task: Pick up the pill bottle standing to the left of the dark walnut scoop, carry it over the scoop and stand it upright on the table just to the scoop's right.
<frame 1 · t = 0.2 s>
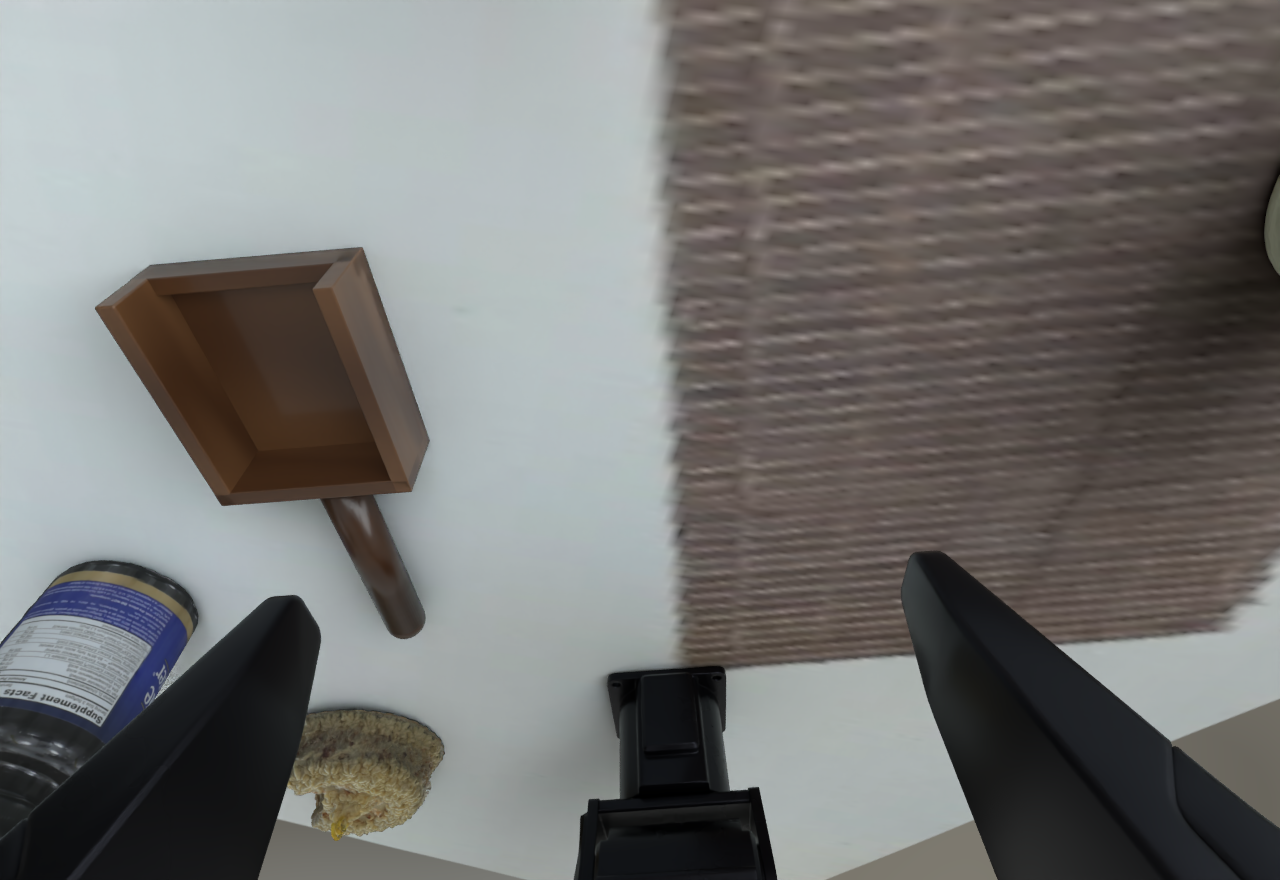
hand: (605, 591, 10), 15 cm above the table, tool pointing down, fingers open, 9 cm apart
pill bottle: (135, 594, 32), on the table
scoop: (342, 447, 26), on the table
cake: (363, 742, 41), on the table
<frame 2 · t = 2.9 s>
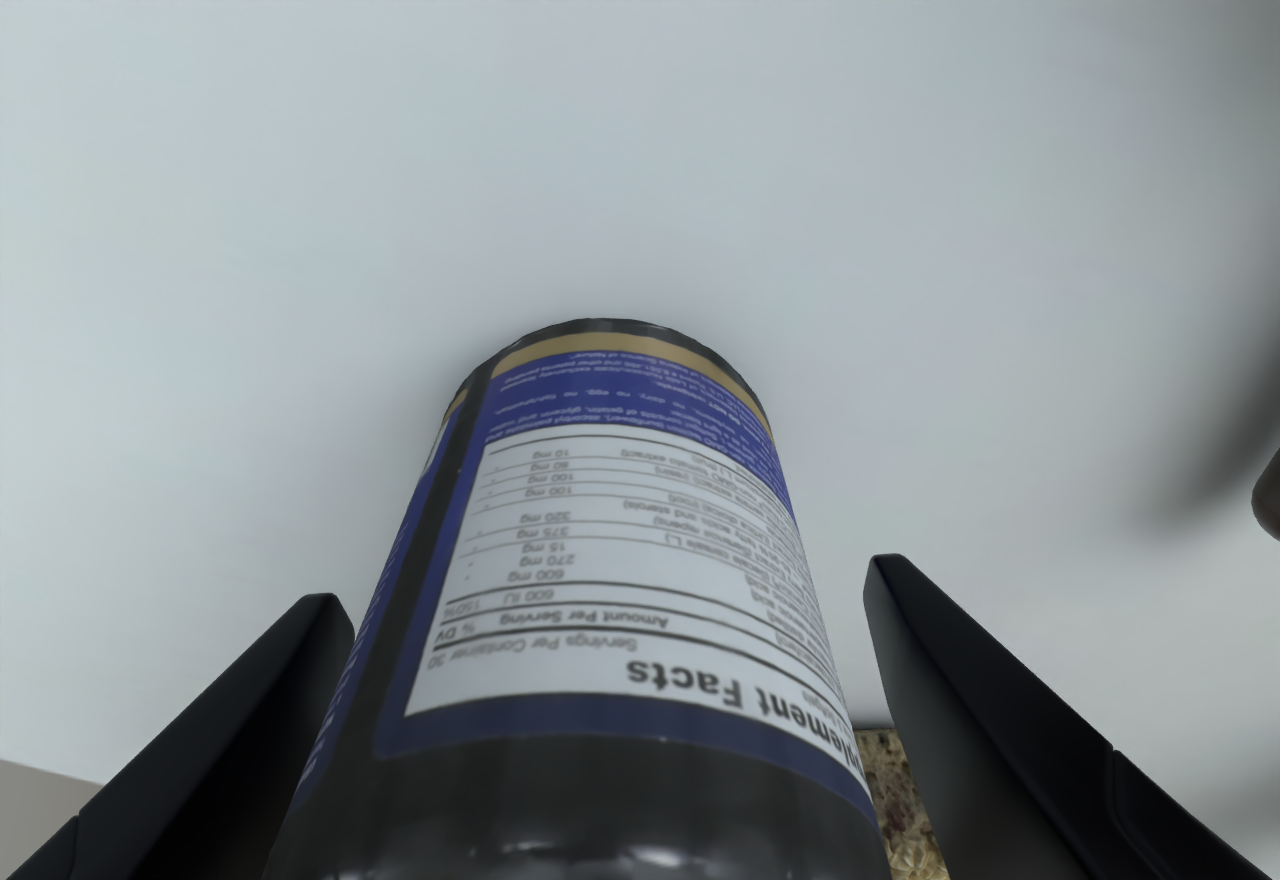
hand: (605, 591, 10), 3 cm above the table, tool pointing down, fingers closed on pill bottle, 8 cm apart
pill bottle: (610, 443, 13), on the table, touching gripper
cake: (836, 787, 22), on the table
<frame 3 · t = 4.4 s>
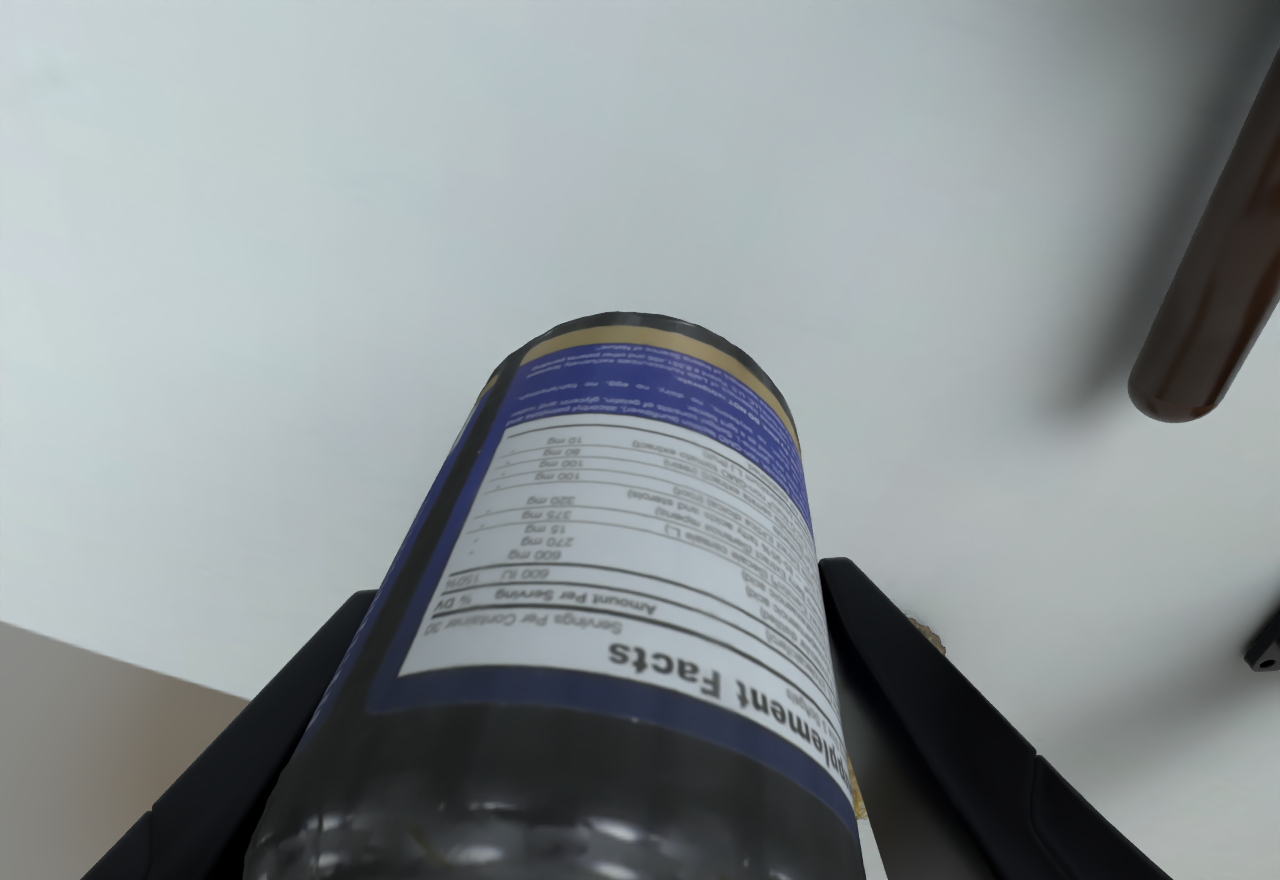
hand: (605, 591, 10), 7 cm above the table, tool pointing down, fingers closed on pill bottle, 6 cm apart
pill bottle: (637, 436, 13), point 3 cm above the table, touching gripper
cake: (807, 678, 25), on the table
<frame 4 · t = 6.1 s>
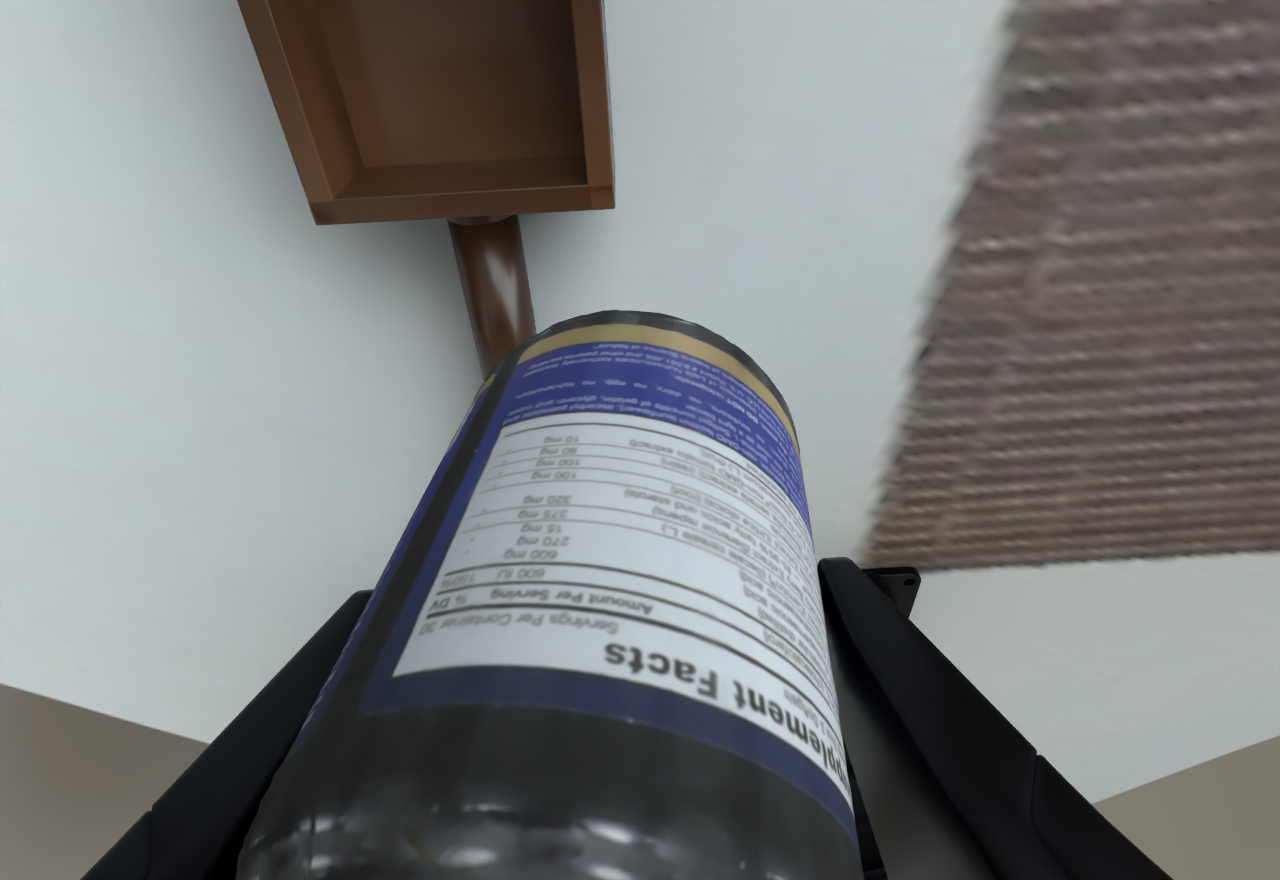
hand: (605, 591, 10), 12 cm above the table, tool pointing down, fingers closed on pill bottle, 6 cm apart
pill bottle: (636, 436, 13), point 8 cm above the table, touching gripper
scoop: (484, 177, 18), on the table
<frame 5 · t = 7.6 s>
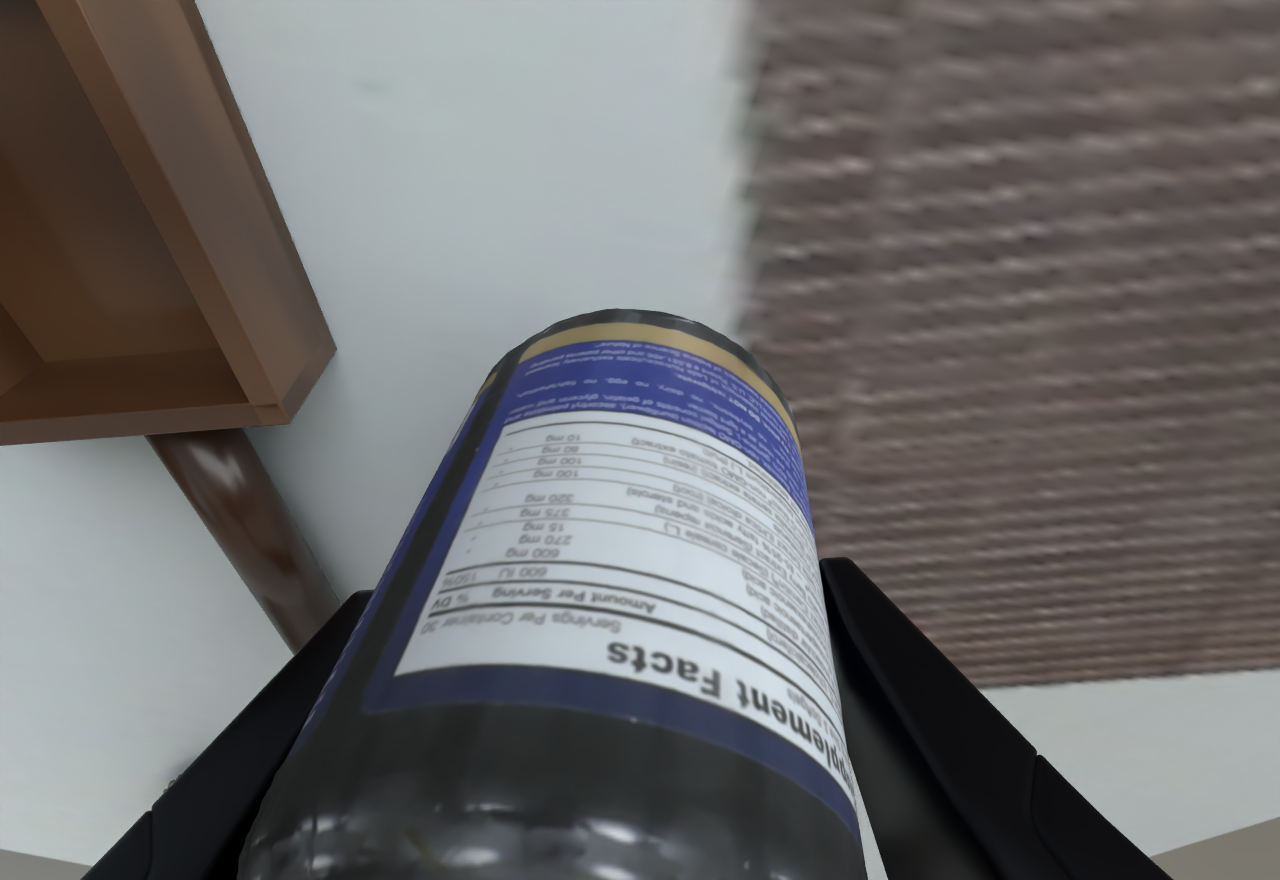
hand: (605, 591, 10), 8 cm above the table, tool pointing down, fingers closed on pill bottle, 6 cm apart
pill bottle: (637, 435, 13), point 4 cm above the table, touching gripper
scoop: (194, 360, 16), on the table
when the fingers open (4 cm above the table, at t = 9.0 s): pill bottle stays where it is, on the table.
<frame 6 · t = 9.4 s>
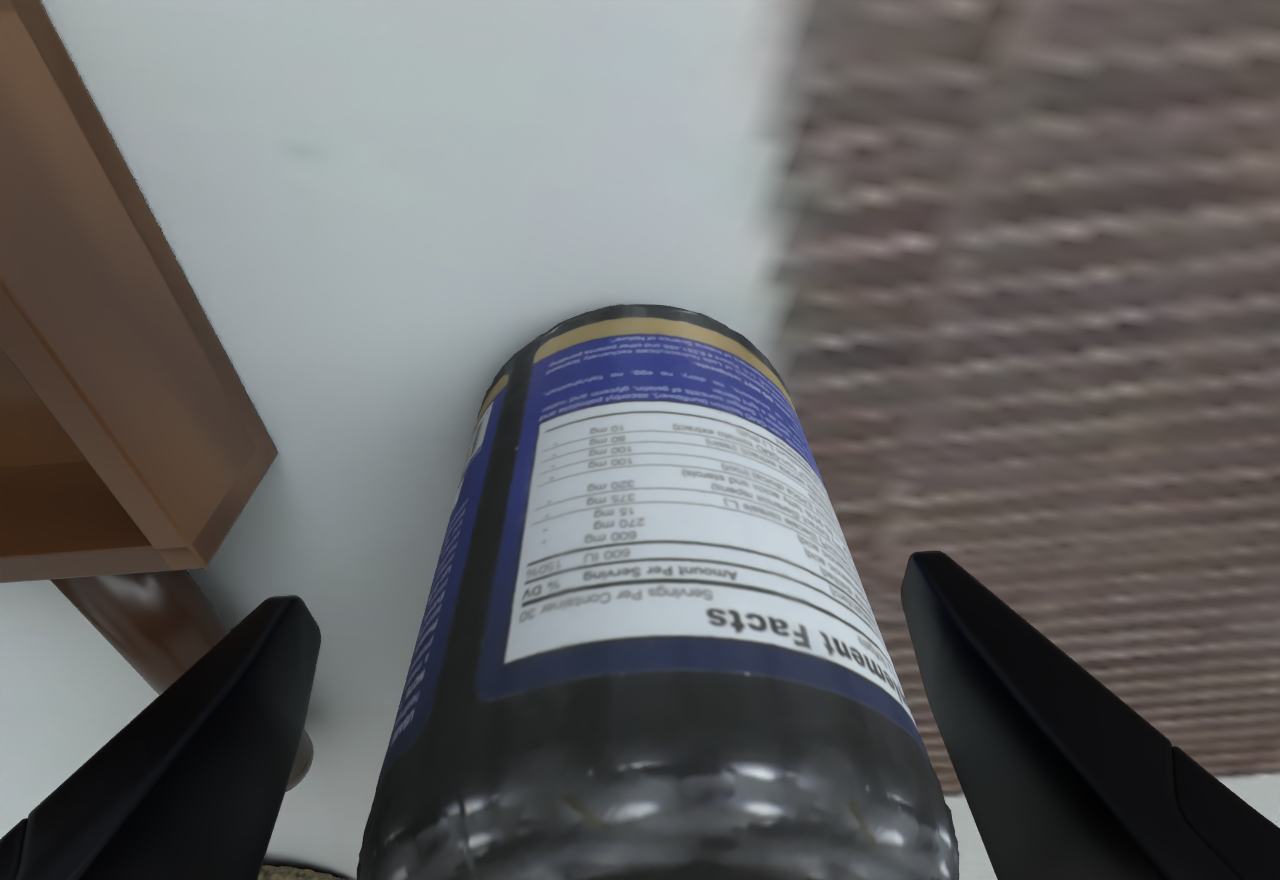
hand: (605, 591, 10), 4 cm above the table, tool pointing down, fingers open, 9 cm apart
pill bottle: (637, 427, 13), on the table
scoop: (106, 466, 13), on the table
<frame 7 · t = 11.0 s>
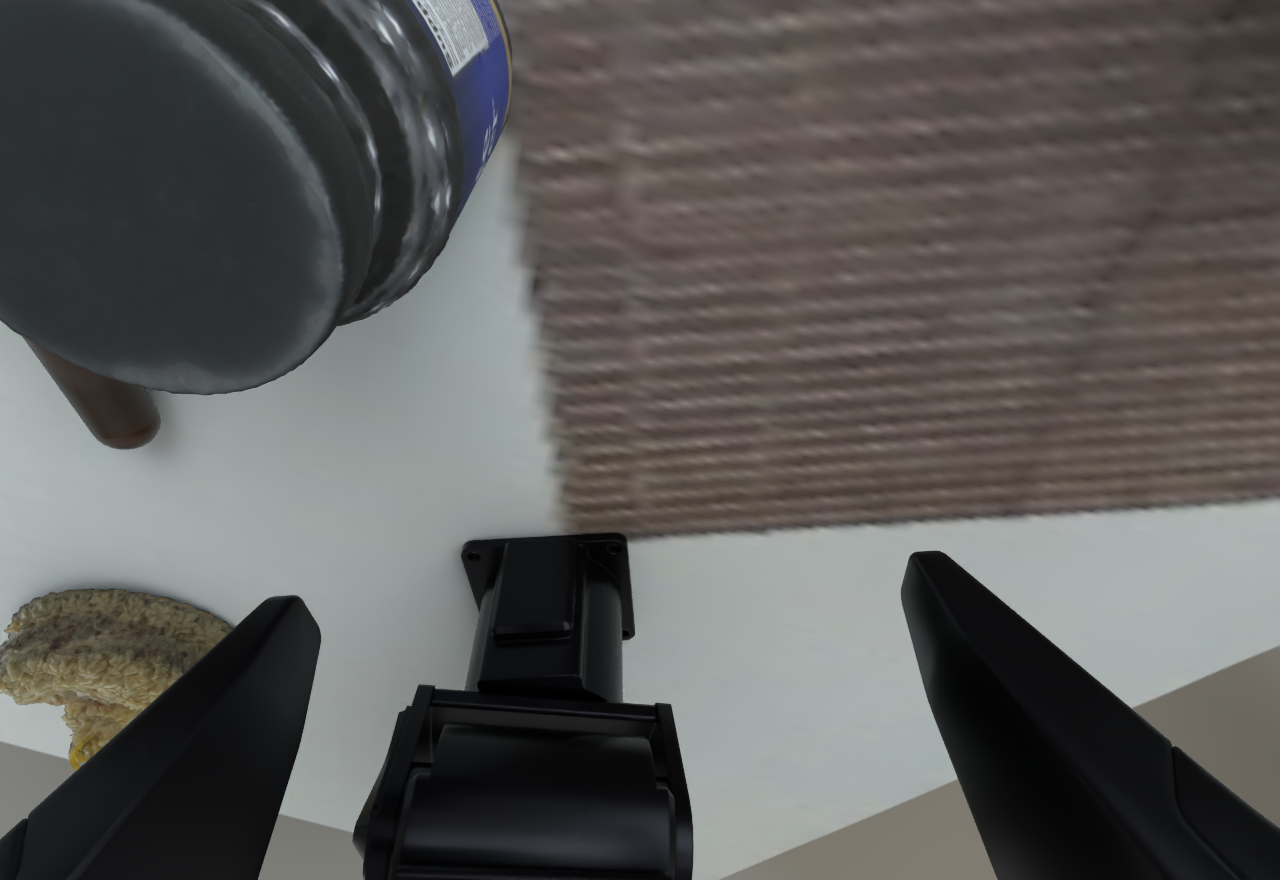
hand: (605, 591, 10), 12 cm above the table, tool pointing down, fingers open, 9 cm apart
pill bottle: (390, 51, 16), on the table
cake: (148, 646, 30), on the table
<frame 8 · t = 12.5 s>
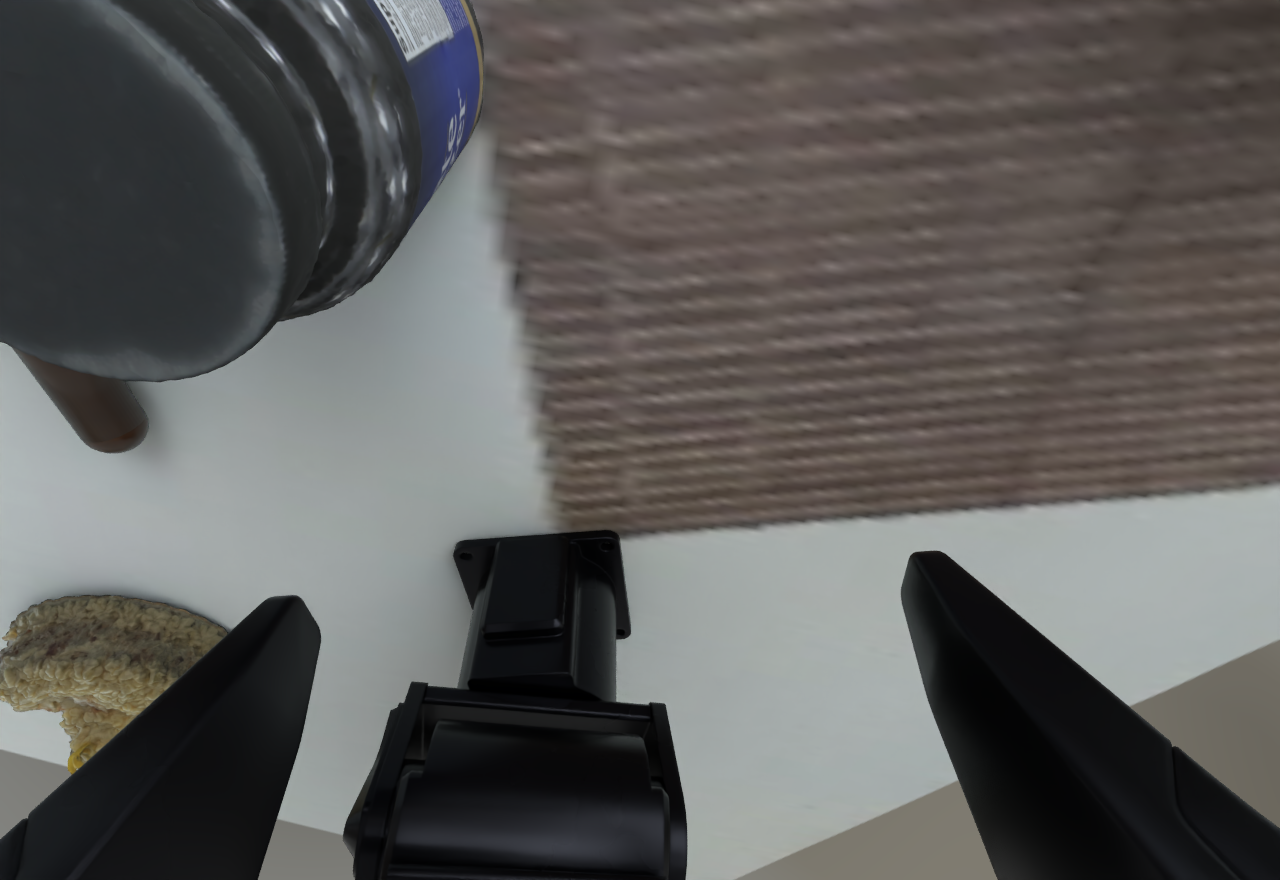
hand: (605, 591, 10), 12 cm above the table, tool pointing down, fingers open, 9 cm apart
pill bottle: (362, 47, 16), on the table
cake: (146, 653, 30), on the table
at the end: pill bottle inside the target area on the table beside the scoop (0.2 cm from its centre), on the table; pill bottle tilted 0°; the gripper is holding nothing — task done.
